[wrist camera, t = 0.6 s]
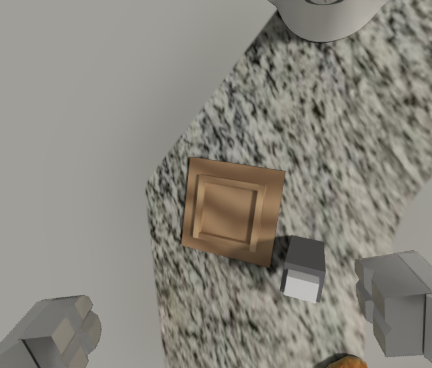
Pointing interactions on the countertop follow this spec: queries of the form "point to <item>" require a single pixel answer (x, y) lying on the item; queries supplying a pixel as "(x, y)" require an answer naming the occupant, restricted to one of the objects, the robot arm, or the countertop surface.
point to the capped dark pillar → (304, 269)
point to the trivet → (232, 209)
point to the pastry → (348, 363)
